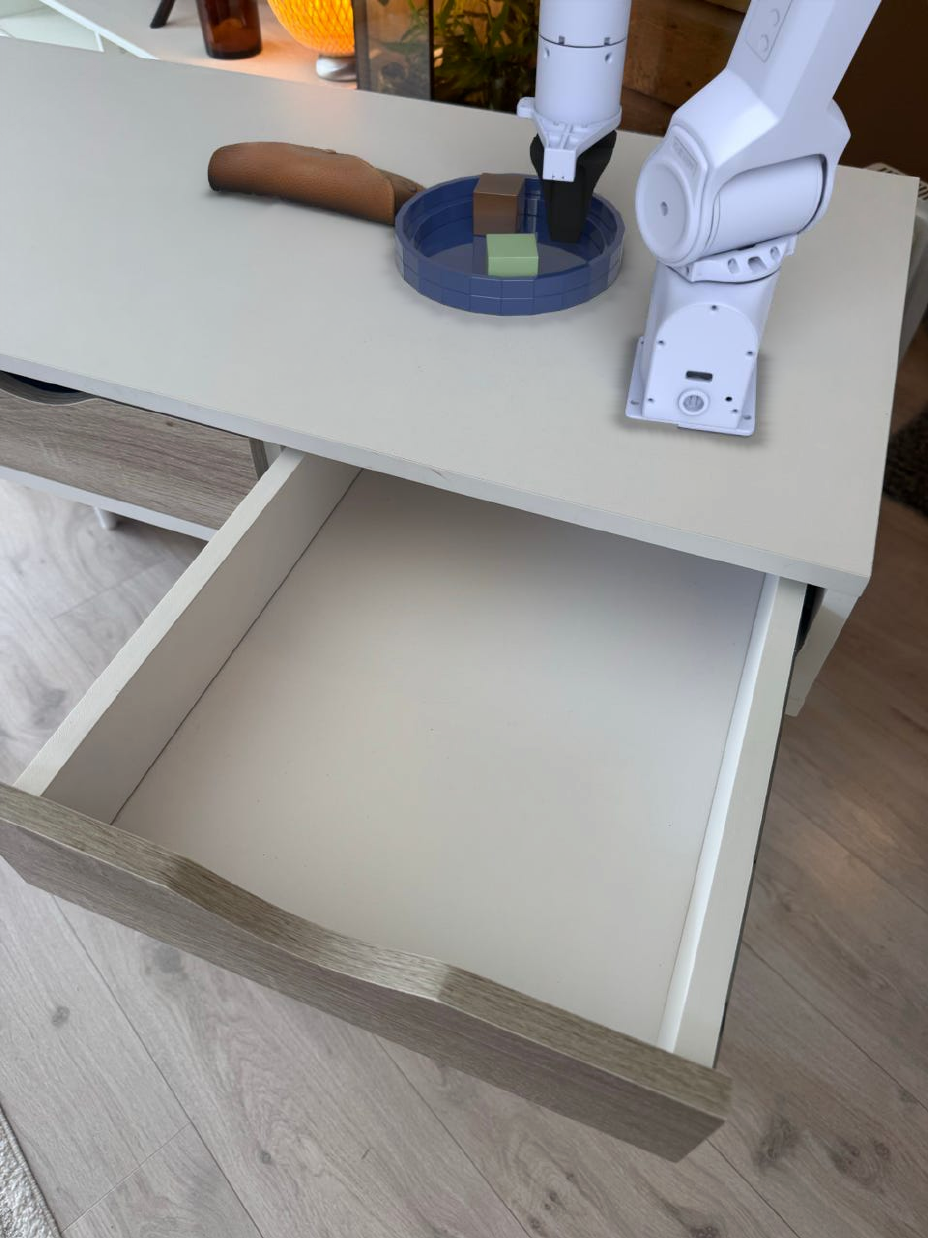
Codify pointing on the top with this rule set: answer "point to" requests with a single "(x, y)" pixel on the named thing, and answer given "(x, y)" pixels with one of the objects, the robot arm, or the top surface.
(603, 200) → the bowl
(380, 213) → the sunglasses case
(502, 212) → the walnut block
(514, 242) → the sage block
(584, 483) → the top surface
